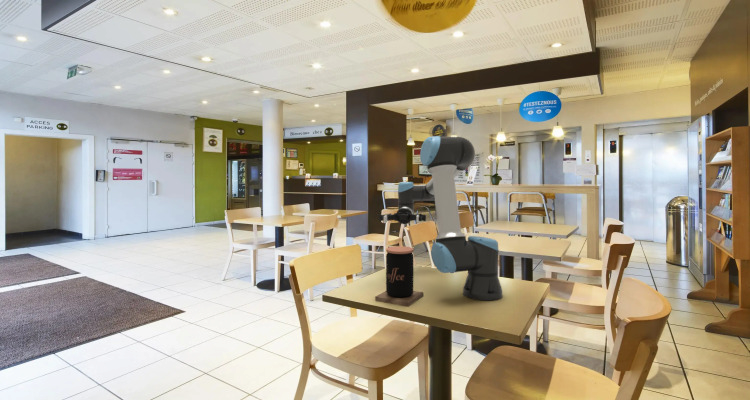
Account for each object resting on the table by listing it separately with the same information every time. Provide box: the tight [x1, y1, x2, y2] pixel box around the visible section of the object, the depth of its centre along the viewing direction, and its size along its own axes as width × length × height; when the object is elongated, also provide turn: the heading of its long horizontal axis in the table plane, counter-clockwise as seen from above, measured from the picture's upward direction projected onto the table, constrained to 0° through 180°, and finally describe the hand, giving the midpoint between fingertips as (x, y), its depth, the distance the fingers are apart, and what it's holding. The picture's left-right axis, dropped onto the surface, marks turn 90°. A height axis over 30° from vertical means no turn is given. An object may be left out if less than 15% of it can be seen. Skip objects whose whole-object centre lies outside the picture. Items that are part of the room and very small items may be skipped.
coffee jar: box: [385, 245, 414, 298], centre depth 149 cm, size 11×11×18 cm
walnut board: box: [374, 290, 424, 307], centre depth 150 cm, size 14×14×2 cm
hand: (400, 219), depth 158 cm, fingers open, 13 cm apart
